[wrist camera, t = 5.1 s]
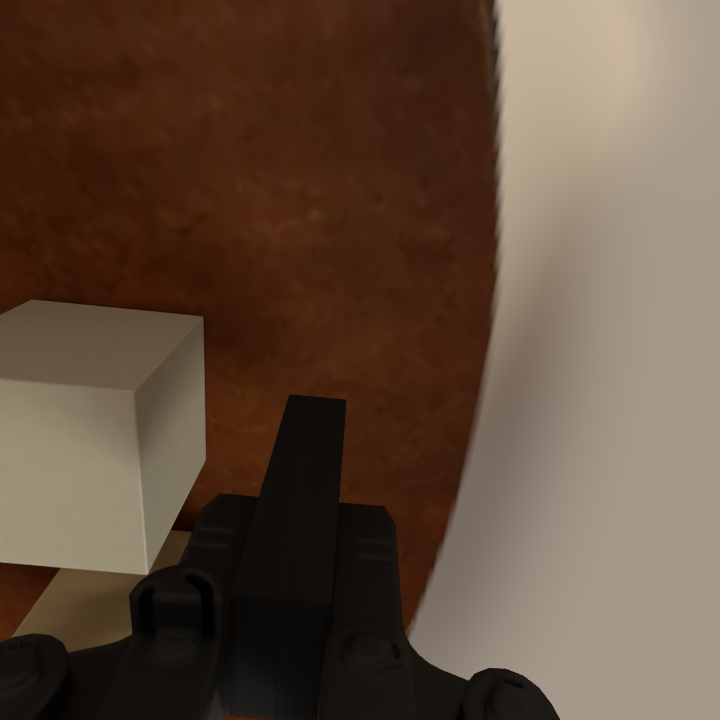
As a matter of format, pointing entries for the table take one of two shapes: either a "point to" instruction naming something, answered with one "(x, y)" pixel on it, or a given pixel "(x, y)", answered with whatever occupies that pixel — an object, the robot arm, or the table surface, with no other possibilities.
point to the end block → (93, 601)
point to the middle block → (97, 432)
